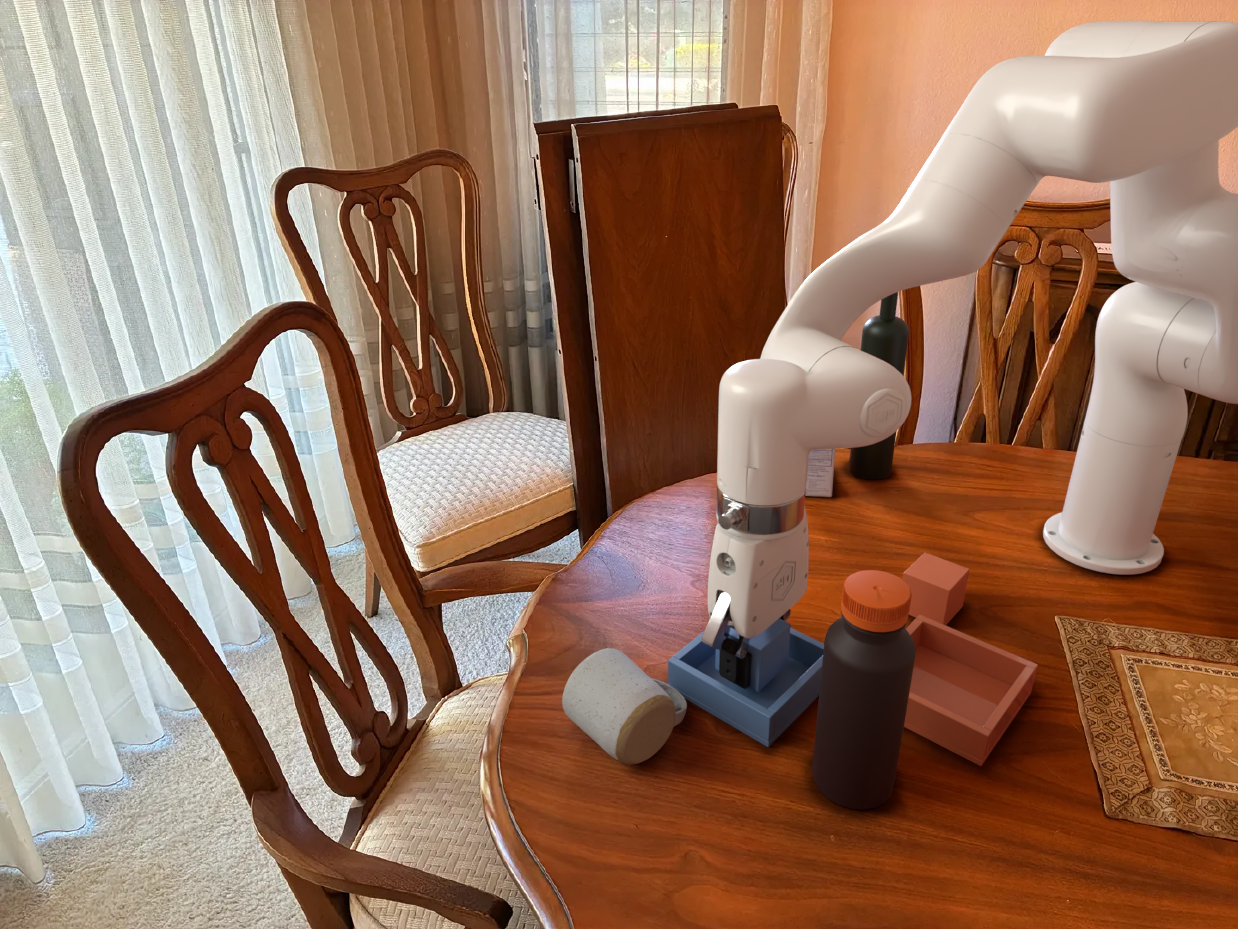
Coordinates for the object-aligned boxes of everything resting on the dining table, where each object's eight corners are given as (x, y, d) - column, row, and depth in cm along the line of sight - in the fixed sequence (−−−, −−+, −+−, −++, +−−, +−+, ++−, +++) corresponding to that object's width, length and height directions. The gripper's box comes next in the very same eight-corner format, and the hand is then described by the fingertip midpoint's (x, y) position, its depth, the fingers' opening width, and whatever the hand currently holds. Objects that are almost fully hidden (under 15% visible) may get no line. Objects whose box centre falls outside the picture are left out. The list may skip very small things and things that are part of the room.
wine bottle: (899, 476, 118) (927, 260, 104) (860, 482, 117) (884, 265, 103) (878, 458, 123) (903, 249, 109) (841, 463, 122) (861, 254, 108)
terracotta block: (918, 589, 96) (924, 551, 93) (962, 606, 93) (969, 568, 90) (898, 610, 93) (903, 572, 90) (942, 629, 90) (949, 590, 87)
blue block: (745, 642, 86) (746, 602, 83) (788, 664, 83) (791, 623, 80) (715, 668, 82) (715, 627, 80) (758, 692, 79) (760, 650, 77)
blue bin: (737, 629, 91) (738, 602, 89) (835, 679, 84) (838, 650, 82) (667, 688, 83) (667, 660, 82) (768, 747, 76) (770, 718, 75)
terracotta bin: (914, 642, 88) (919, 614, 86) (1031, 693, 81) (1038, 664, 79) (858, 704, 81) (862, 674, 79) (981, 767, 74) (988, 736, 72)
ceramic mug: (620, 787, 73) (618, 719, 69) (562, 733, 79) (557, 668, 75) (707, 725, 79) (709, 661, 75) (647, 680, 85) (647, 618, 81)
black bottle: (910, 797, 71) (945, 603, 62) (840, 823, 69) (865, 627, 60) (862, 739, 77) (887, 554, 67) (796, 762, 75) (812, 574, 65)
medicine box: (831, 499, 114) (837, 440, 110) (797, 496, 115) (801, 438, 110) (831, 470, 120) (835, 414, 116) (798, 468, 121) (802, 413, 117)
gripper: (737, 562, 66) (731, 734, 75) (849, 478, 77) (832, 637, 86) (663, 528, 71) (665, 695, 79) (778, 454, 82) (769, 607, 90)
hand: (752, 663), depth 82 cm, fingers closed on blue block, 5 cm apart
